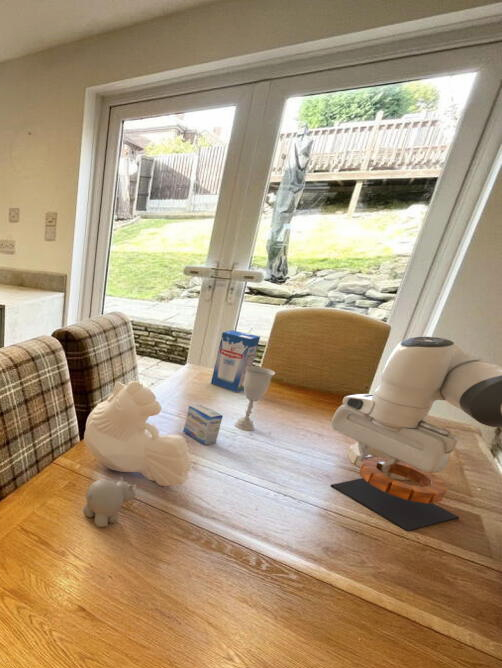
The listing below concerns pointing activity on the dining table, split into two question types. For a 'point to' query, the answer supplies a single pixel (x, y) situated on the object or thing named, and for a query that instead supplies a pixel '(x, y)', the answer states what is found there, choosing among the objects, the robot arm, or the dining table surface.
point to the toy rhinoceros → (107, 500)
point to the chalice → (254, 391)
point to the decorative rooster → (135, 437)
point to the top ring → (428, 493)
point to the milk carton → (234, 359)
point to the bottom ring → (355, 454)
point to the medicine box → (202, 424)
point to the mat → (394, 506)
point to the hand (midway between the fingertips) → (372, 466)
